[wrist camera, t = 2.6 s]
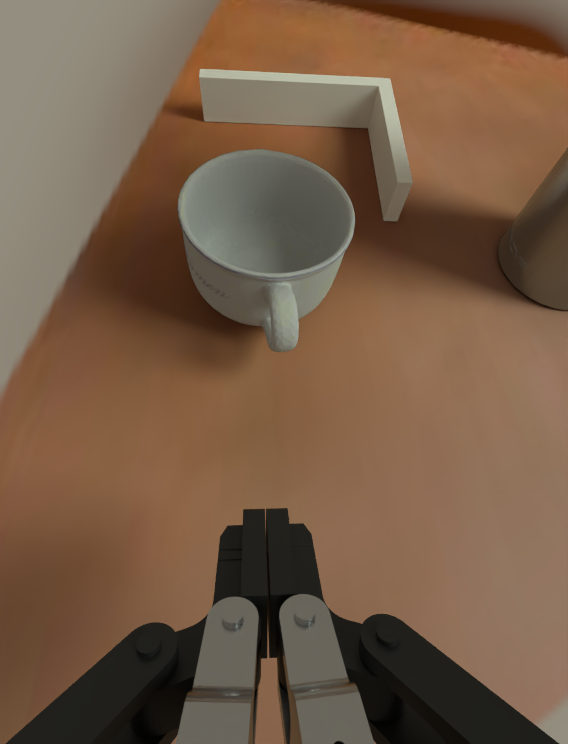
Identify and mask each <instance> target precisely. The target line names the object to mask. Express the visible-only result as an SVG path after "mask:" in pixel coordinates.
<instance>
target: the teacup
mask: <svg viewBox="0 0 568 744" xmlns="http://www.w3.org/2000/svg"><path fill="white" fill-rule="evenodd" d="M177 211H178V216H179V221H180V225H181V228H182V230H183V238H184V245H185V250H186V256H187V261H188V265H189V270H190V273H191V276H192V279H193V281H194V283H195V285H196V287H197V289H198V291H199V292H200V294H201V295H202V297H203V298H204V299H205V300H206V301H207V302H208V303H209V304H210V305H211V306H212V307H213V308H214V309H215V310H217V311H218V312H219V313H221V314H222V315H224V316H226V317H228V318H230V319H232V320H235V321H237V322H240V323H243V324H247V325H253V326H262V327H263V329H264V331H265V335H266V339H267V342H268V345H269V348H270V349H271V350H272V351H275V352H286V351H290V350H293V349H294V348H295V347H296V344H297V342H298V331H299V322H298V319H300V318H302V317H304V316H305V315H307V314H308V313H310V312H311V311H312V310H313V309H315V308H316V307H317V306H318V305H319V304H320V302H321V301H322V300H323V299H324V297H325V296H326V294H327V293H328V291H329V289H330V287H331V285H332V283H333V281H334V279H335V276H336V274H337V271H338V269H339V267H340V264H341V261H342V258H343V256H344V253H345V250H346V249H347V248H348V246H349V244H350V242H351V240H352V237H353V234H354V226H355V213H354V208H353V205H352V202H351V200H350V198H349V196H348V194H347V193H346V191H345V190H344V188H343V187H342V186H341V185H340V183H339V182H338V181H337V180H336V179H335V178H334V177H333V176H331V175H330V174H329V173H328V172H327V171H325V170H324V169H322V168H321V167H319V166H317V165H316V164H314V163H312V162H310V161H308V160H305V159H303V158H300V157H297V156H294V155H290V154H286V153H283V152H276V151H270V150H265V149H257V150H244V151H235V152H231V153H227V154H223V155H220V156H218V157H216V158H214V159H211V160H209V161H208V162H206V163H204V164H203V165H202V166H200V167H199V168H197V169H196V170H195V171H194V172H193V173H192V174H191V175H190V176H189V178H188V179H187V180H186V182H185V183H184V186H183V187H182V189H181V192H180V195H179V201H178V210H177Z"/></svg>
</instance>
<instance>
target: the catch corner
mask: <svg viewBox="0 0 568 744" xmlns="http://www.w3.org/2000/svg"><path fill="white" fill-rule="evenodd" d="M199 79H200V88H201V97H202V106H203V115H204V121H207V122H230V123H254V124H278V125H301V126H325V127H348V128H368V132H369V138H370V144H371V150H372V156H373V162H374V168H375V174H376V180H377V185H378V191H379V197H380V203H381V209H382V215H383V221H398V218H399V216H400V213H401V211H402V209H403V206H404V204H405V201H406V199H407V196H408V194H409V191H410V189H411V186H412V184H413V181H412V176H411V172H410V167H409V163H408V158H407V154H406V149H405V144H404V140H403V135H402V131H401V126H400V122H399V117H398V112H397V108H396V103H395V99H394V94H393V90H392V85H391V80H390V78H370V77H351V76H331V75H311V74H292V73H272V72H252V71H233V70H213V69H200V75H199Z"/></svg>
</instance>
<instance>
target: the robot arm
mask: <svg viewBox="0 0 568 744" xmlns="http://www.w3.org/2000/svg"><path fill="white" fill-rule="evenodd" d="M498 257H499V262H500V265H501V267H502V269H503V272H504V273H505V275H506V276H507V278H508V279H509V280H510V282H511V283H512V284H513V285H514V286H515V287H516V288H517V289H518V290H519V291H521V292H522V293H523V294H525V295H526V296H528V297H529V298H531V299H533V300H535V301H537V302H538V303H540V304H543V305H546V306H549V307H552V308H556V309H562V310H568V148H567V150H566V151H565V152H564V154H563V155H562V156H561V158H560V159H559V160H558V162H557V163H556V164H555V166H554V167H553V169H552V170H551V171H550V173H549V174H548V175H547V177H546V178H545V179H544V181H543V182H542V183H541V185H540V186H539V188H538V189H537V190H536V192H535V193H534V194H533V196H532V197H531V198H530V200H529V201H528V202H527V204H526V205H525V207H524V208H523V209H522V211H521V212H520V213H519V215H518V216H517V217H516V219H515V220H514V221H513V223H512V224H511V226H510V227H509V228H508V230H507V231H506V232H505V234H504V235H503V236H502V238H501V241H500V243H499V247H498ZM267 626H268V632H269V658H277V667H278V684H277V685H278V696H279V704H280V712H281V720H282V728H283V736H284V744H374V741H375V742H376V743H377V744H559V743H557V742H556V741H555V740H554V739H552V738H551V737H550V736H548V735H547V734H546V733H545V732H543V731H542V730H541V729H540V728H538V727H537V726H536V725H534V724H533V723H532V722H531V721H529V720H528V719H527V718H525V717H524V716H523V715H522V714H520V713H519V712H518V711H516V710H515V709H514V708H513V707H511V706H510V705H509V704H508V703H506V702H505V701H504V700H502V699H501V698H500V697H499V696H497V695H496V694H495V693H493V692H492V691H491V690H490V689H488V688H487V687H486V686H484V685H483V684H482V683H481V682H479V681H478V680H477V679H476V678H474V677H473V676H472V675H470V674H469V673H468V672H467V671H465V670H464V669H463V668H461V667H460V666H459V665H458V664H456V663H455V662H454V661H452V660H451V659H450V658H449V657H447V656H446V655H445V654H444V653H442V652H441V651H440V650H438V649H437V648H436V647H435V646H433V645H432V644H431V643H429V642H428V641H427V640H426V639H424V638H423V637H422V636H420V635H419V634H418V633H417V632H415V631H414V630H413V629H412V628H410V627H409V626H408V625H406V624H405V623H404V622H403V621H401V620H400V619H398V618H396V617H394V616H391V615H387V614H376V615H372V616H370V617H369V618H367V619H366V620H365V621H364V622H363V624H360V623H357V622H353V621H349V620H346V619H343V618H341V617H339V616H337V615H336V614H334V613H333V612H332V611H331V610H330V609H329V608H328V607H327V605H326V604H325V601H324V599H323V595H322V590H321V584H320V579H319V573H318V568H317V563H316V559H315V552H314V546H313V541H312V535H311V533H310V532H309V530H308V529H307V528H306V527H305V525H304V524H289V517H288V509H287V508H278V509H266V533H265V509H244V510H243V525H233V526H227V527H226V529H225V530H224V532H223V533H222V535H221V536H220V544H219V554H218V563H217V573H216V582H215V592H214V601H213V605H212V608H211V609H210V611H209V613H208V614H207V616H206V617H205V618H204V619H203V620H201V621H200V622H199V623H197V624H195V625H193V626H191V627H189V628H186V629H183V630H180V631H177V632H175V631H174V630H173V629H172V628H171V627H170V626H168V625H166V624H164V623H148V624H145V625H142V626H140V627H138V628H137V629H135V630H134V631H132V632H131V633H130V634H129V635H128V636H127V637H126V638H124V639H123V640H122V641H121V642H120V643H119V644H118V645H117V646H115V647H114V648H113V649H112V650H111V651H110V652H109V653H107V654H106V655H105V656H104V657H103V658H102V659H101V660H100V661H98V662H97V663H96V664H95V665H94V666H93V667H92V668H91V669H89V670H88V671H87V672H86V673H85V674H84V675H83V676H82V677H80V678H79V679H78V680H77V681H76V682H75V683H74V684H72V685H71V686H70V687H69V688H68V689H67V690H66V691H65V692H63V693H62V694H61V695H60V696H59V697H58V698H57V699H56V700H54V701H53V702H52V703H51V704H50V705H49V706H48V707H47V708H45V709H44V710H43V711H42V712H41V713H40V714H39V715H37V716H36V717H35V718H34V719H33V720H32V721H31V722H30V723H28V724H27V725H26V726H25V727H24V728H23V729H22V730H21V731H19V732H18V733H17V734H16V735H15V736H14V737H13V738H12V739H10V740H9V741H8V742H7V743H6V744H171V743H172V741H173V740H174V739H175V738H176V736H177V735H178V736H177V741H176V744H255V736H256V720H257V703H258V685H259V683H260V679H261V658H267ZM373 740H374V741H373Z"/></svg>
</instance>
